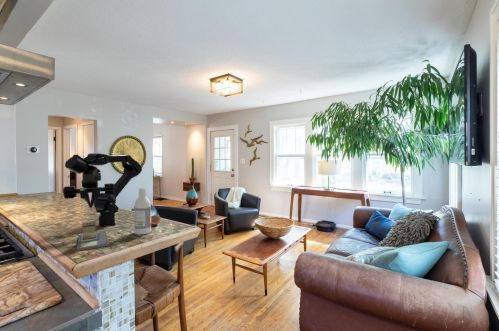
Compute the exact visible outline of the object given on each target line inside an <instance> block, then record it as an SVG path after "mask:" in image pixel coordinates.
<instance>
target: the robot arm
mask: <svg viewBox="0 0 499 331" xmlns="http://www.w3.org/2000/svg"><path fill="white" fill-rule="evenodd" d="M109 163H121V166H122V168H123V170H122V171H123V173H122V175H121V176H119V178H118V179H117V181H115V183H104V184H103V185H104V186H99V184H98V182H100V181H102V171H101V170H100V169H99V168H98V167H96V166H104V165H107V164H109ZM64 167H65V168H66V169H68V170H70V171H72V172H74V173H75V174H79V175H81V174H82V180H81V187H80V188H76V186H75V185H68V186H66V185H65V186H63V188H62V194H63V197H64V199H67V200H68V199H74V198H75V197H77V195H79V197H80V199H81V200H84V201H85V203H86V204H87V206H88V208H89V209H92V208H93V206H94V209H95V212H96V213H99V215H98V226H100V228H101V227H108V226H115V225H116V217H115V216H116V213H118V212H119V208H120V207H118V205H116V203H117V198H118V196H119V195H120V194H121V193H122V191H123V190H124V189H125V187H126V186H127V185H128V183H130V182H131V181H132V179H134V178H136V177H137V176H139V175H140V174H141V173H142V170H143V168H142V166H141V164H140V163H139V162H138V161H137V160H136V159H134V158H133V157H132V156H131V155H130V154H122V155H121V154H120V155H119V154H117V155H115V154H114V155H113V154H112V155H110V154H107V153H106V154H105V153H99V152H96V153H95V152H93V153H92V152H90V153H88V154H87V155H86V156H85V157H84V158H83V157H82V156H80V155H79V154H73V155H72V156H71V157H70V158H68V160H66V161H65V163H64ZM90 194H91V196H90Z"/></svg>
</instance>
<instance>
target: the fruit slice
mask: <svg viewBox="0 0 499 331" xmlns="http://www.w3.org/2000/svg"><path fill="white" fill-rule="evenodd" d="M160 223H161V216H160V215H159V214H156V215H151V227H155V226H157V225H159V224H160Z"/></svg>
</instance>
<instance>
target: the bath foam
mask: <svg viewBox="0 0 499 331" xmlns="http://www.w3.org/2000/svg"><path fill="white" fill-rule="evenodd" d="M133 206H134V207H133V228H134V229H133V233H134V234H135V235H140V236H141V235H149V234H150V233H151V231H152V226H151V217H152V204H151V201H150V199H149V198H148V197H147V188H146V187H139V188H138V197H137V198H136V200H135V201H134V205H133Z"/></svg>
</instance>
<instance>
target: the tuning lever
mask: <svg viewBox="0 0 499 331" xmlns="http://www.w3.org/2000/svg"><path fill="white" fill-rule="evenodd" d="M81 228H82V234H83V238H82V240H88V239H95V238H96V235H95V232H96V221H87V222H82V224H81Z"/></svg>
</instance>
